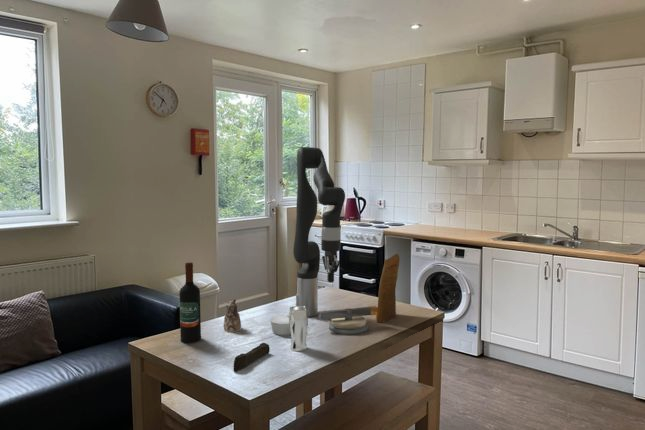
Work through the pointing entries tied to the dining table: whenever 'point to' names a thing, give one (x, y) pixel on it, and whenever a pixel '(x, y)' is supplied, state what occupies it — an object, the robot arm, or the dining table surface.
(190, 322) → the wine bottle
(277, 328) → the ramekin
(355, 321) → the capstan dial
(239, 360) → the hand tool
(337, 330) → the dial plinth
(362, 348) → the dining table surface
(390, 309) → the pancake mix bag
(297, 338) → the beer glass
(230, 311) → the figurine
